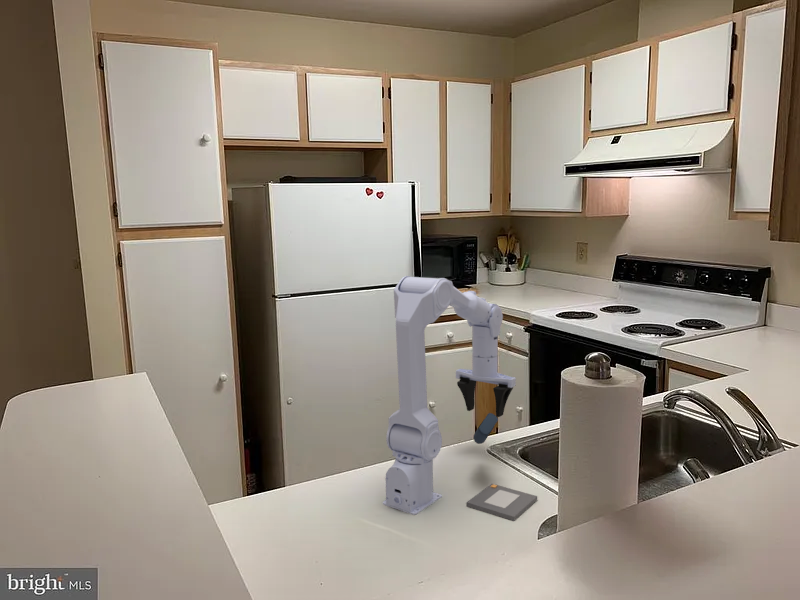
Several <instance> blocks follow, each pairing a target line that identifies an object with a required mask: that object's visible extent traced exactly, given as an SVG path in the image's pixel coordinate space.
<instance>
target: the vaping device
mask: <svg viewBox="0 0 800 600" xmlns="http://www.w3.org/2000/svg"><path fill="white" fill-rule="evenodd" d="M498 421H499V417H496V414H494V413H491V412H488V413H487V415H486V416H485V418H484V419H483V420H482V422H481V423H480V425H479V426H478V427H477V429H476V431H475V432H474V434H473V437H472V438H473V441H474V443H475V444H478V445H480V444H484V443H485V442H486V441H487V438H488V437H489V435H491V433H492V431H493V429H494V428H495V426H496V424H497V422H498Z"/></svg>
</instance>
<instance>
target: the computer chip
mask: <svg viewBox="0 0 800 600" xmlns="http://www.w3.org/2000/svg"><path fill="white" fill-rule="evenodd" d="M537 501H538V495H534V494H530V493H528V492H523V491H522V490H521V491H519V490H516V489H513V488H511V487H506V486H503V485H498V484H496V483H491V484H489V485H488V486H486V487H485V488H483V490H481V491H479V492H478V493H477V494H476V495H474V496H473V497H472V498H470V499H468V500H467V501H466V503H465V504H466V507H468V508H472V509H473V510H474V509H475V510H477V511H480V512H483V513H484V512H485V513H487V514H491V515H493V516H496V517H500V518H504V519H506V520H509V521H513V522H515V520H517V519H518V518H519V517H520V516H522V515H523V513H525V512H526V511H527V510H528V509H529V508H531V506H533V504H535V503H536V502H537Z"/></svg>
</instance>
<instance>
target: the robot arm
mask: <svg viewBox="0 0 800 600" xmlns="http://www.w3.org/2000/svg"><path fill="white" fill-rule="evenodd" d="M393 300H394V301H393V302H394V304H393V305H394V318H395V334H396V336H395V337H396V355H397V357H396V359H397V360H396V361H397V376H398V377H397V378H398V381H397V382H398V398H399V399H398V400H399V403H398V404H399V408H398V409H397V410H396V411H394V412H393V413H392V414H391V415H390V416H389V417H388V427H387V431H386V434H385V435H386V437H385V438H386V445H387V447H388V449H389V450H390V451H392V456H393V457H395V459H394V462H393V464H392V465H391V466H390V467H389V468H388V469H387V470H386V473H385V500H383V501H382V505H383V506H387V507H389V508H392V509H395V510H398V511H401V512H404V513H407V514H410V515H413V516H415V515H418V514H419V513H421V512H422V511H424V510H425V509H426V508H429V507H430V506H431V505H433V504H434V503H436V502H437V501H439V500H440V499H441V498H443V495H442V494H441V493H437V492H434V463H433V460H434V459H435V458H437V456H438V455H439V453H440V452H441V449H442V444H443V437H442V433H441V431H440V427H439V420H438V418H437V417H436V416H435V414H433V412H432V411H431V410H430V409H429V408H428V391H427V389H428V388H427V368H426V367H427V366H426V365H427V363H426V341H425V339H426V338H425V330H426V328H427V326H428V325H431V324H434V323H435V322H436V321H437V320H438V318H439V317H441V315H442V314H444V312H445V311H447V309H448V307H449V306H450V307H452V308H453V310H454V313H455V315H457V316H458V317H460V318H461V319H464V320H466V323H467V325H468V326H469V327H471V329H472V332H471V333H472V335H471V337H472V338H471V339H472V342H471V345H472V349H471V350H472V351H471V353H472V355H471V356H472V357H471V358H472V360H471V361H472V362H471V363H472V367H471V368H472V369H466V368H458V369H456V370H455V379H458V381H457V383H456V384H457V388H458V389H459V391H460V392H461V394H462V397H463V400H464V403H465V406H466V410H467V411H468V412H471V411H473V410H474V409H475V404H476V402H475V392H476V386H477V385H476V384H477V382H479V383H480V382H481V383H487V384H492V385H497V386H495V387H493V388H492V390H493V393H494V399H495V416H496V417H497V418H501V417H502V416H503V415H504V411H505V408H506V404H507V401H508V399H509V396H510V395H511V392H512V391H513V389H514V387H515V386H516V383H517V382H516V380H517V378H516V377H513V376H509V375H507V374H503V373H500V372H498V365H499V364H498V363H499V362H498V359H499V353H498V346H499V345H498V339H499V338H498V337H499V336H500V334H501V326H502V323H503V318H504V314H503V311H502V308H501V307H500V306H499V305H498V304H497V303H490V302H488V301H487V299H486V298H484V297H479V296H478V295H477V292H476V291H475V290H467V291H464V292H462V291H460V290H459V289H458V288H457V287H455V286H454V284H453V281H452V280H449V279H448V278H445V277H439V278H438V277H437V278H436V277H421V276H420V277H419V276H411V275H404V276H403V277H401V278H400V279H399V281H398V283H397V284H396V285H395V287H394V289H393Z"/></svg>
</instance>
